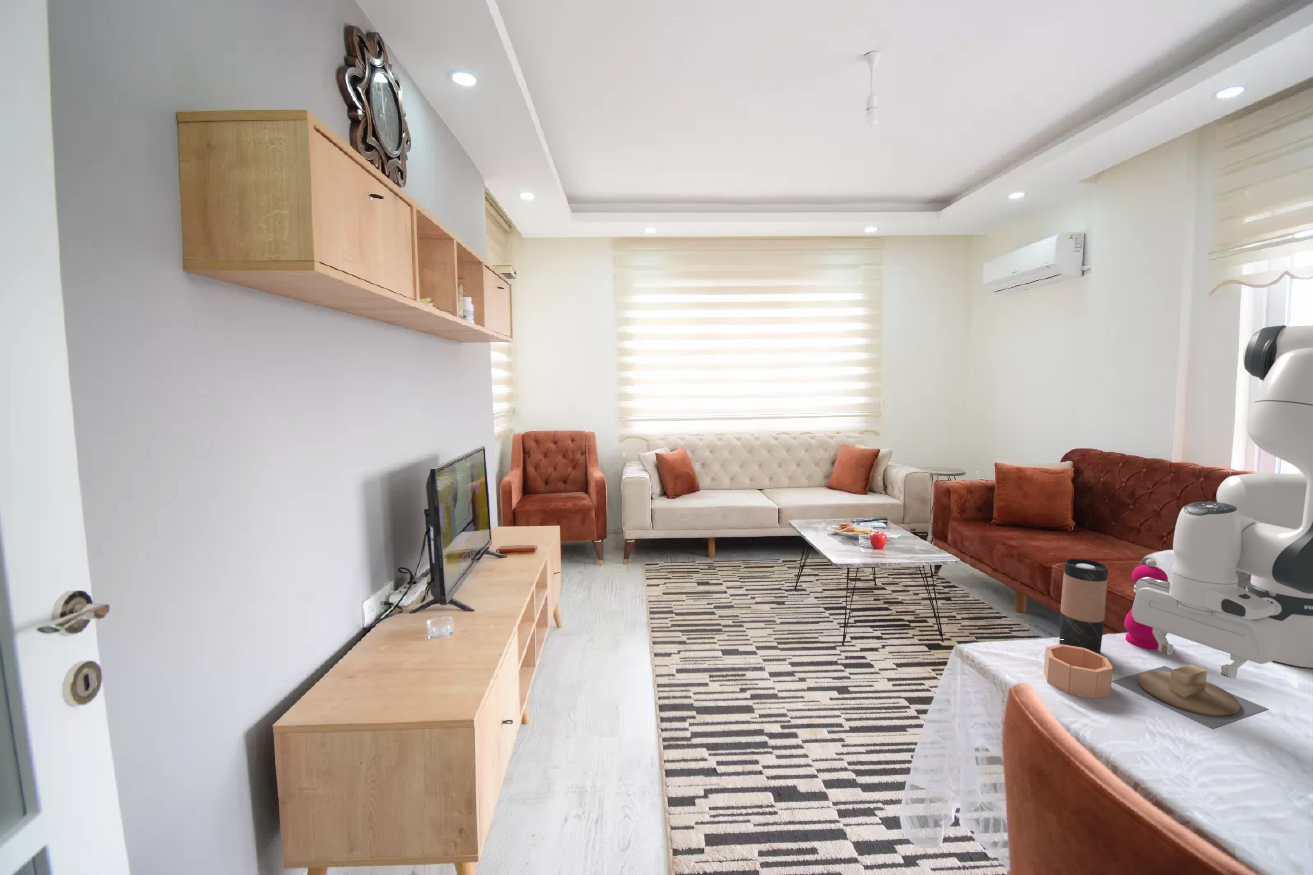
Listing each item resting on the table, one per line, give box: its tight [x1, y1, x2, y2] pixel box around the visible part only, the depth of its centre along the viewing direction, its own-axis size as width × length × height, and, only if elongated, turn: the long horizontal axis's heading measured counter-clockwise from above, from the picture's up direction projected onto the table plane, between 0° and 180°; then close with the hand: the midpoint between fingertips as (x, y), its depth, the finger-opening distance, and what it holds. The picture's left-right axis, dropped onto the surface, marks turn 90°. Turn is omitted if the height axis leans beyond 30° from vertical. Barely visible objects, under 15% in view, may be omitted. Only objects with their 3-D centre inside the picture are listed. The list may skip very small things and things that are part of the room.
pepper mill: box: [1123, 558, 1169, 651], centre depth 127 cm, size 7×7×20 cm
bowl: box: [1043, 644, 1114, 700], centre depth 112 cm, size 10×10×6 cm
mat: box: [1112, 665, 1269, 730], centre depth 108 cm, size 16×16×1 cm
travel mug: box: [1059, 558, 1109, 655], centre depth 124 cm, size 8×8×20 cm
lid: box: [1138, 663, 1240, 717], centre depth 107 cm, size 14×14×5 cm
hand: (1195, 664), depth 106 cm, fingers open, 8 cm apart
